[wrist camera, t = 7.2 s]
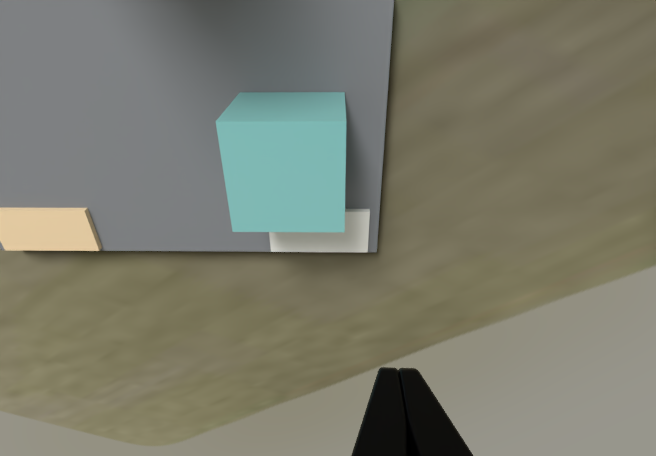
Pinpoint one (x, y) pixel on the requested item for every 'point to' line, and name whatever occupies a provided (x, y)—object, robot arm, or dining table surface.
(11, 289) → the dining table surface
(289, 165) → the teal cube
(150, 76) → the grey flat board
